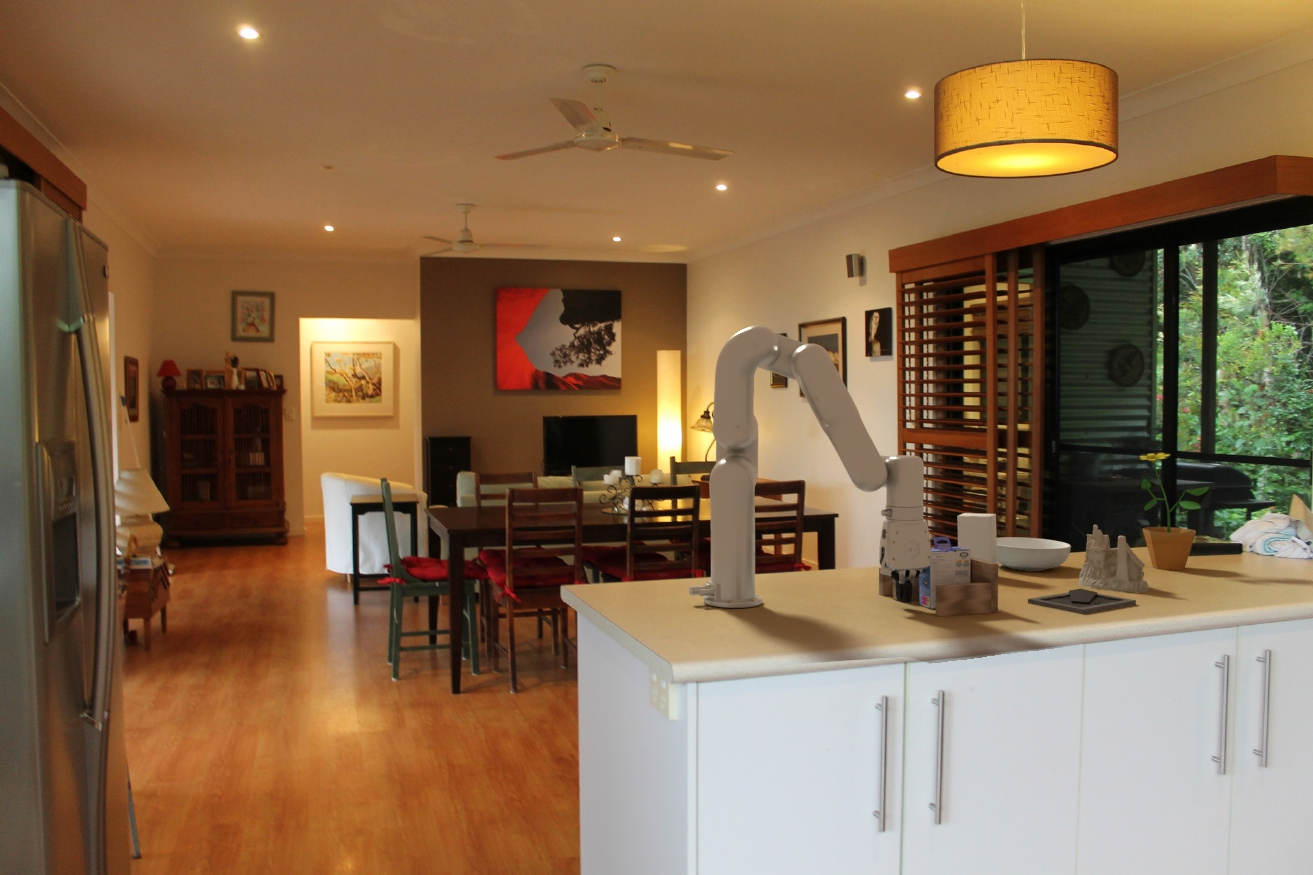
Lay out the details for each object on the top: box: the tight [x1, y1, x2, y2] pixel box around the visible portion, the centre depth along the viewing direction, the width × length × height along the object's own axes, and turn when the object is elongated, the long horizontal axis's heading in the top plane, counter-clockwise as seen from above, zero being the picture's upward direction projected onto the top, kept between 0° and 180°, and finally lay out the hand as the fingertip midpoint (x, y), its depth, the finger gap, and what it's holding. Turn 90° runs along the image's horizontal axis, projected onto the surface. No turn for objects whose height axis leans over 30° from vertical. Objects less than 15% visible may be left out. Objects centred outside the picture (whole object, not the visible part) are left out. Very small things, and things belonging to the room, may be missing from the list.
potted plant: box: [1135, 451, 1211, 571], centre depth 257 cm, size 18×19×30 cm
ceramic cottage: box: [1078, 524, 1149, 593], centre depth 234 cm, size 16×16×15 cm
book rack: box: [878, 557, 999, 617], centre depth 213 cm, size 14×24×10 cm, turn 17°
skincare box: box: [957, 512, 998, 564], centre depth 245 cm, size 8×7×16 cm
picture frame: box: [1027, 588, 1137, 615], centre depth 211 cm, size 13×2×18 cm
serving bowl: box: [996, 536, 1072, 572], centre depth 258 cm, size 21×21×7 cm
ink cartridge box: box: [919, 536, 971, 609], centre depth 210 cm, size 10×6×14 cm, turn 105°
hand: (903, 601), depth 207 cm, fingers closed
